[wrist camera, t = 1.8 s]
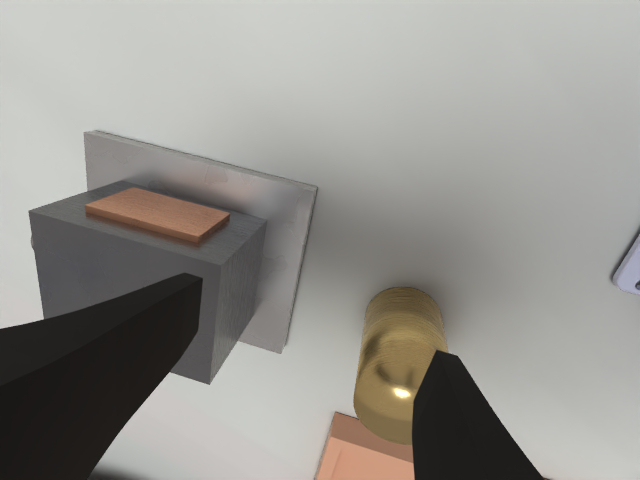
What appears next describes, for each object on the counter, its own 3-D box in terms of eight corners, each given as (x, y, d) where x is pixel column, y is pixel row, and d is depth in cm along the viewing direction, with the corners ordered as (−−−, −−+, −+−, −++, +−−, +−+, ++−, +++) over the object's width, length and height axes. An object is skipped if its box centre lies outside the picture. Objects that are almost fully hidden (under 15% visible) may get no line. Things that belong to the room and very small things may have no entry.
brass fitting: (452, 299, 19) (475, 386, 13) (427, 358, 20) (438, 457, 15) (376, 278, 19) (367, 353, 14) (357, 337, 21) (343, 426, 15)
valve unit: (317, 187, 18) (281, 230, 12) (285, 345, 22) (247, 430, 16) (88, 128, 19) (-36, 144, 14) (98, 289, 23) (6, 350, 18)
